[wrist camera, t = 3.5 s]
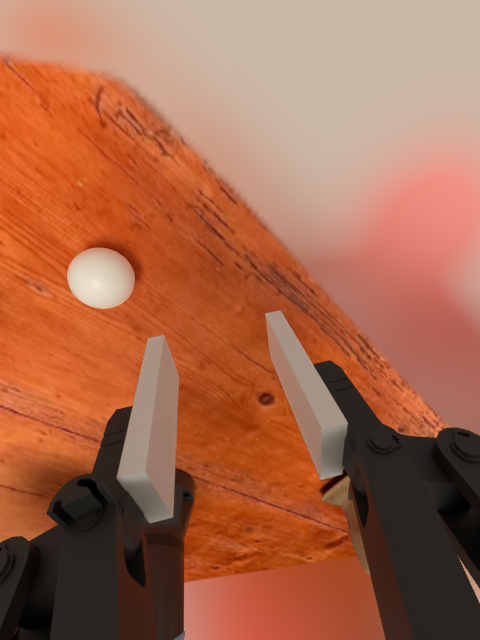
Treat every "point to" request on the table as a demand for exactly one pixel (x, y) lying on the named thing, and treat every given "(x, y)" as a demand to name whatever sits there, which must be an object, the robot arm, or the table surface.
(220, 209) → the table surface
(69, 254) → the table surface
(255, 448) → the table surface
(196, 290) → the table surface
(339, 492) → the tan flanged block
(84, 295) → the cue ball
